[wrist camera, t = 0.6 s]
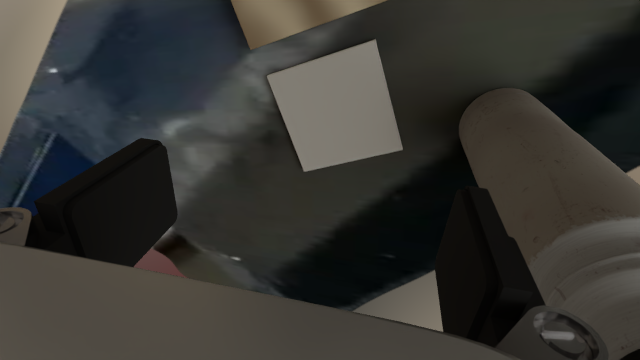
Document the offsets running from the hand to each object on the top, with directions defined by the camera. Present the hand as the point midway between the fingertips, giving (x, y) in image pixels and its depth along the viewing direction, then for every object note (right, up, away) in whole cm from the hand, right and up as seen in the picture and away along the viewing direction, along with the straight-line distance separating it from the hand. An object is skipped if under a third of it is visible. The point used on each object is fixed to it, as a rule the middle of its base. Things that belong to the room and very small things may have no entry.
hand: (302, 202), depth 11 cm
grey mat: (+2, +8, +28) cm, 29 cm away
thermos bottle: (+19, +6, +25) cm, 32 cm away
